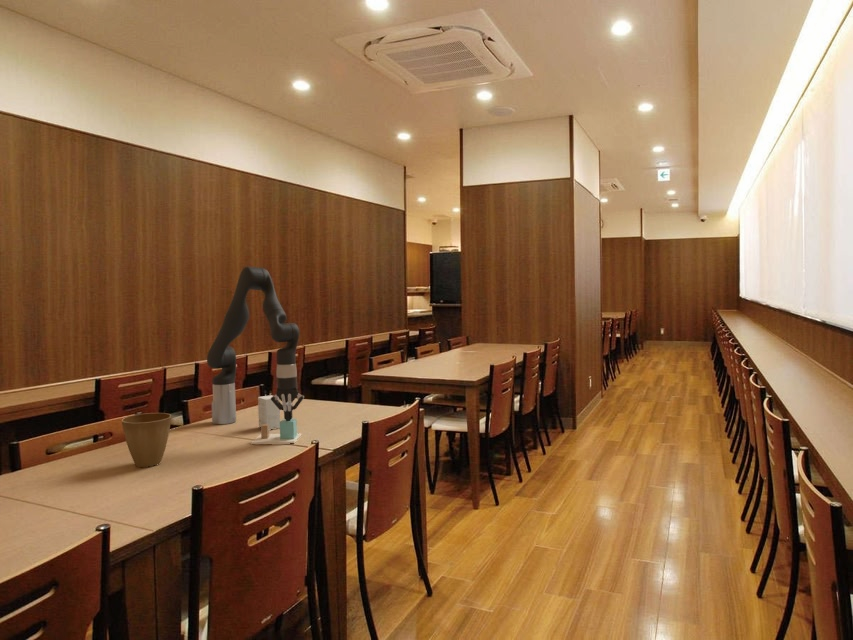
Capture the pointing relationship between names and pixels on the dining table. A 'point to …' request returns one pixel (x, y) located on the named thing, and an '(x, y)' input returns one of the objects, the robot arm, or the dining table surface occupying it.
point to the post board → (272, 437)
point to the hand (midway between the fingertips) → (288, 420)
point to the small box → (268, 412)
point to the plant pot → (147, 437)
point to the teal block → (288, 429)
